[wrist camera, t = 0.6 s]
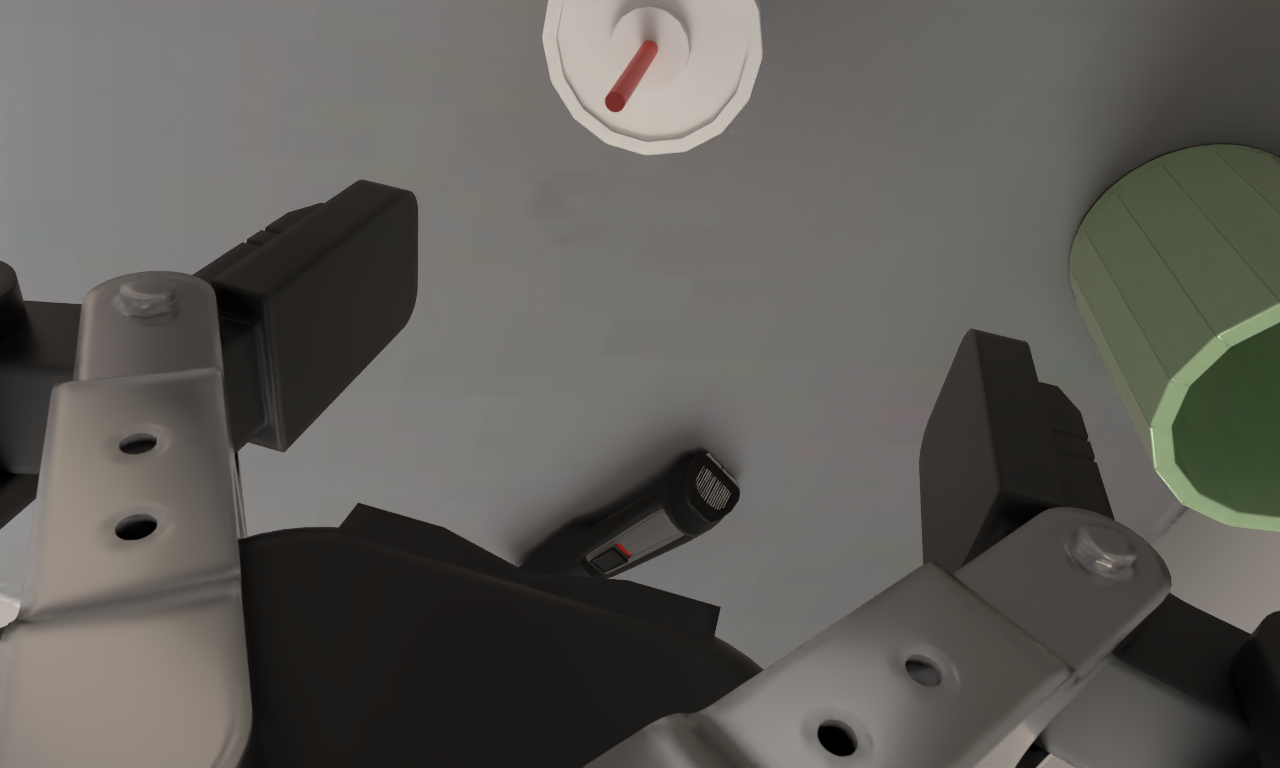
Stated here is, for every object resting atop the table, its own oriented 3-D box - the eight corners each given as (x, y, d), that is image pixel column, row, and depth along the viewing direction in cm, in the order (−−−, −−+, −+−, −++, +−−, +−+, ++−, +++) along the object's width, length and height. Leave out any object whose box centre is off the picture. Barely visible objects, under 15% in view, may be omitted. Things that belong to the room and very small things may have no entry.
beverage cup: (726, 101, 34) (675, 267, 22) (581, 24, 33) (452, 154, 22) (811, -59, 30) (802, 41, 19) (651, -149, 29) (540, -103, 18)
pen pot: (1177, 102, 31) (1319, 234, 22) (1374, 207, 32) (1588, 376, 23) (1022, 289, 36) (1088, 459, 27) (1197, 376, 37) (1317, 569, 28)
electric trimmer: (491, 559, 51) (473, 602, 48) (698, 441, 43) (689, 484, 40) (537, 599, 52) (521, 642, 49) (746, 491, 44) (740, 535, 42)
